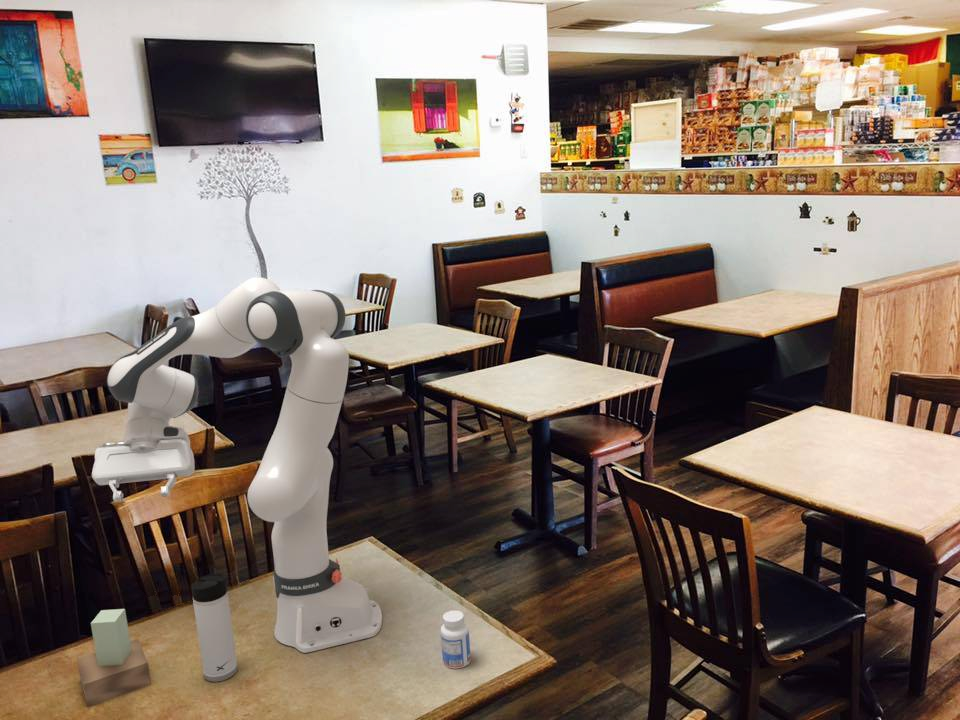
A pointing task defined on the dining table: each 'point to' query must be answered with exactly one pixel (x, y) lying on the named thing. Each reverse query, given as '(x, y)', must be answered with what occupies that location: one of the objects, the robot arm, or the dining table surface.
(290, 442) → the robot arm
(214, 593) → the travel mug
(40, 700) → the dining table surface
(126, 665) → the walnut block
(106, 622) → the sage block
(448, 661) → the pill bottle
